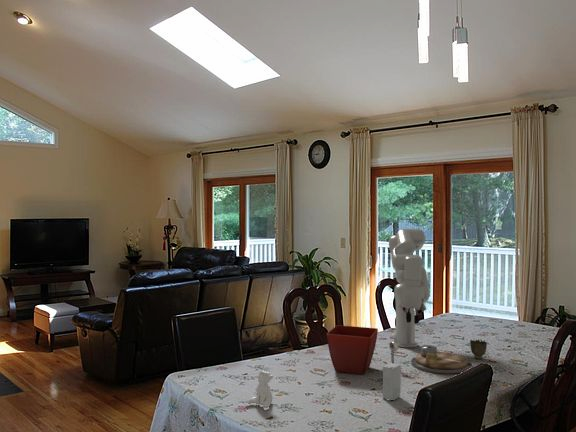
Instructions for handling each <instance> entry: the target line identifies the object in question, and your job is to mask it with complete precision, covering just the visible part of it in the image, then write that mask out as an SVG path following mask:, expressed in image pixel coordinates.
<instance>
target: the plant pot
mask: <svg viewBox="0 0 576 432" xmlns="http://www.w3.org/2000/svg"><path fill="white" fill-rule="evenodd" d="M378 333H379V329H378V327H377V328H376V327H365V326H354V325H353V326H352V325H340V324H339V325H335V326H334V327H332V328H331V329H330V330H328V332H327V333H326V339H327V340H326V341H327V345H328V350H329V356H330V359H331V362H332V366H333V369H334V371H335V372H336V371H337V373H344V372H347V373H346V374H353V373H355V375H365V374H366V373H367V371H368V370H369V368H370V366H371V363H372V360H373V356H374V352H375V349H376V344H377V339H378Z"/></svg>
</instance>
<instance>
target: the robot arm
mask: <svg viewBox="0 0 576 432" xmlns="http://www.w3.org/2000/svg"><path fill="white" fill-rule="evenodd" d="M425 235H426V234H425V233H424V230H423V229H420V228H404V229H402V228H401V229H399V230H398V231H397V232H396V234H395V235H392V236H390V237H389V238H388V239H389V240H388V249H389V252H390V256H391V257H390V258H391V259H390V260H391V265H392V268H393V269H394V272H395V279H396V282H397V284H396V285H394V291H393V292H394V293H393V295H394V299H395V300H394V301H395V334H392V333H391V334H390V335H389V339H392V340H393V341H392V342H396V343H397V344H398V346H399V348H404V349H405V348H406V349H407V348H417V347H418V346H419V342H418V341H416V325H417V324H419V323H420V315H421V314H422V313H423V312H425V311H426V310H427V307H426V304H425V303H426V302H428V301H429V299H430V288H429V287H430V285H429V280H428V274H427V271H426V268H425V267H424V266H423V264H424V262H423V258H422V257H421V256H420V255H419V254H414V252H415V251H420V250H422V248H423V247H424V245H425V243H426V236H425Z"/></svg>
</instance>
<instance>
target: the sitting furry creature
mask: <svg viewBox="0 0 576 432" xmlns="http://www.w3.org/2000/svg"><path fill="white" fill-rule="evenodd" d="M273 377H274V375H273V374H272V375H271V373H270V372H268V371H266V370H260V372H259V373H258V376H257V382H258V384H257V386H256V388H255V391H256V396H253V397H249V398H248V399H247V400H245V402H246V403H248V404H251V403H256V404H260V405H263V408H268V407H269V406H270V407H271V405H272V402H273V399H274V398H273V395H272V392H271V389H270V388H271V387H270V386H269V384H268V383H270V382H271V380H272V379H273ZM270 404H271V405H270ZM260 405H259V406H260ZM263 408H262V409H263Z"/></svg>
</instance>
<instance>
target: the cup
mask: <svg viewBox="0 0 576 432" xmlns="http://www.w3.org/2000/svg"><path fill="white" fill-rule="evenodd" d="M469 343H470V350H471V353H472V354H473V357H474V359H476V360H481V359H483V358H484V357H483V356H484V355H485V354H486V352H487V348H488V347H487V345H488V344H487V343H488V342H487V341H486V340H480V339H470V340H469Z"/></svg>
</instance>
